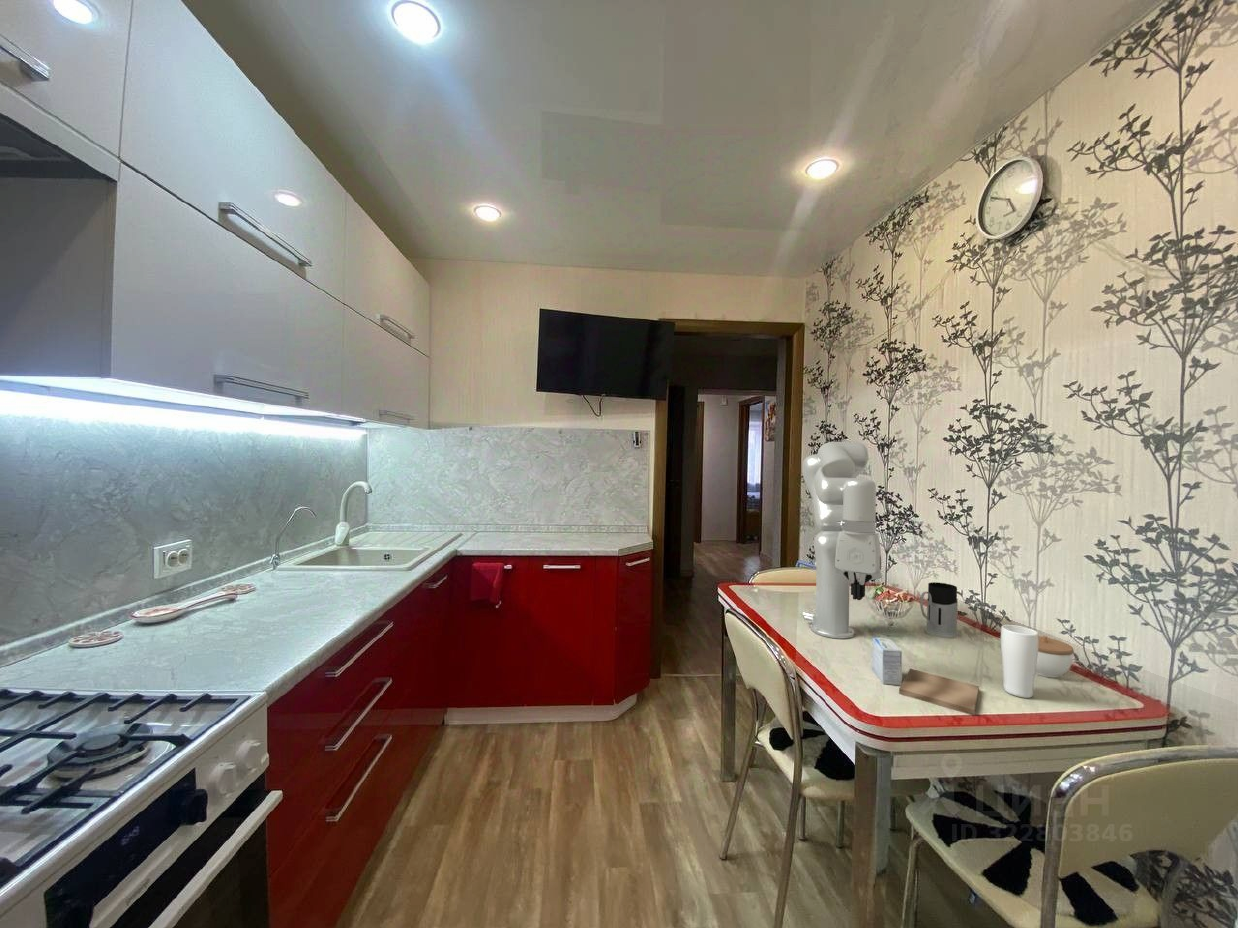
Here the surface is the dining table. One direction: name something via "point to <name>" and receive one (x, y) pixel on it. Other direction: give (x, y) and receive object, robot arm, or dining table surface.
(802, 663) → the dining table surface
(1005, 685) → the white tall cup
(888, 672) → the medicine box
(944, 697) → the walnut board
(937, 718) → the dining table surface
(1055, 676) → the lidded jar
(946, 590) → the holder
